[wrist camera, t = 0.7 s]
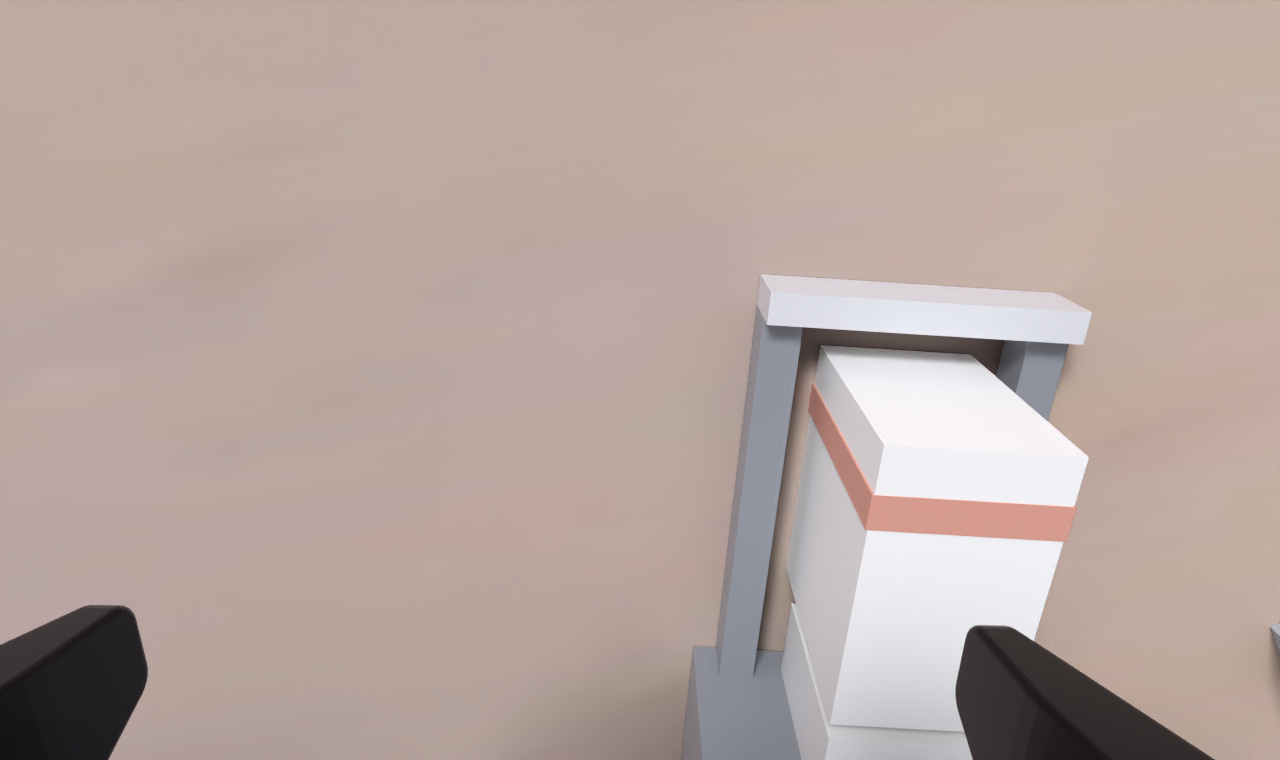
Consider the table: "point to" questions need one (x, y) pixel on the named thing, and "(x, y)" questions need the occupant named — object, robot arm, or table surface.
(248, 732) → the table surface
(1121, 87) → the table surface
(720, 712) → the grey frame stand
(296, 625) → the table surface
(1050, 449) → the white banded block
